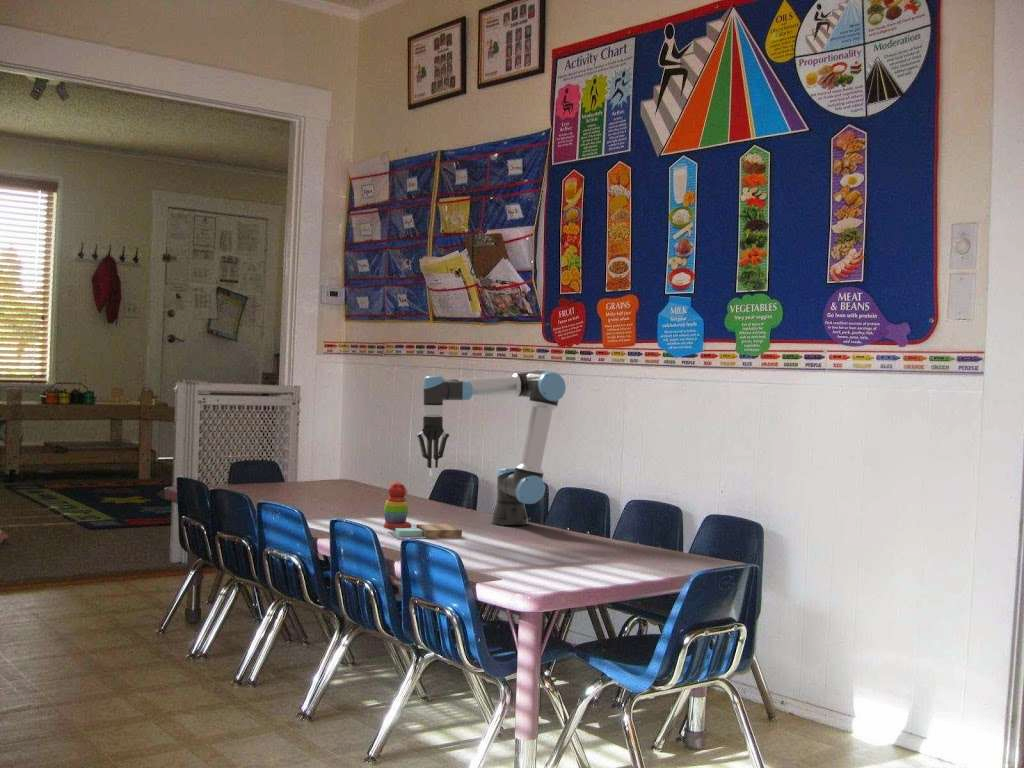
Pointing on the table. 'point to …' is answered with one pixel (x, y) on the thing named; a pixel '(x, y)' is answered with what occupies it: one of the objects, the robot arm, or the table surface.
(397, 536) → the mat
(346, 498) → the table surface
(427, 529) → the tan flat square slab
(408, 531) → the mint green block
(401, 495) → the stacking bear
